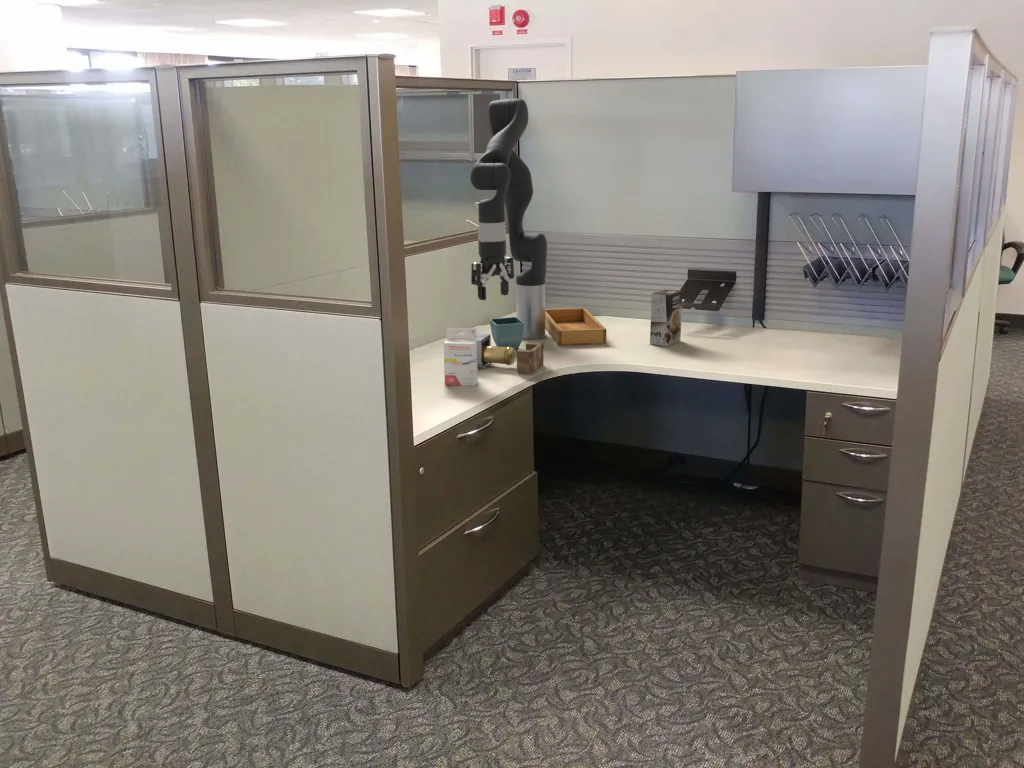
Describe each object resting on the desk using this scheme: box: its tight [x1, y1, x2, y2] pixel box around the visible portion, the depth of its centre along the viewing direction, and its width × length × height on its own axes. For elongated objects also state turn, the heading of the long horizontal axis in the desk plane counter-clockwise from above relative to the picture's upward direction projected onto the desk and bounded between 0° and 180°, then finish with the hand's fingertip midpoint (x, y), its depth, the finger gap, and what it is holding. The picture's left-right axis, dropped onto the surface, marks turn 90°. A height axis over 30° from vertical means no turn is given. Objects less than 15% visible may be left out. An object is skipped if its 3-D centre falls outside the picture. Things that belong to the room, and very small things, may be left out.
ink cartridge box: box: [443, 327, 478, 387], centre depth 243 cm, size 9×5×15 cm, turn 86°
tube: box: [482, 345, 516, 366], centre depth 261 cm, size 16×5×5 cm, turn 71°
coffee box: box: [649, 288, 684, 347], centre depth 283 cm, size 9×6×16 cm
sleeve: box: [460, 332, 492, 370], centre depth 262 cm, size 8×8×8 cm
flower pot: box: [489, 316, 524, 351], centre depth 279 cm, size 9×9×9 cm
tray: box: [545, 307, 607, 347], centre depth 298 cm, size 31×15×6 cm, turn 8°
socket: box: [516, 341, 544, 376], centre depth 257 cm, size 10×4×6 cm, turn 161°
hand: (493, 297), depth 253 cm, fingers open, 8 cm apart
